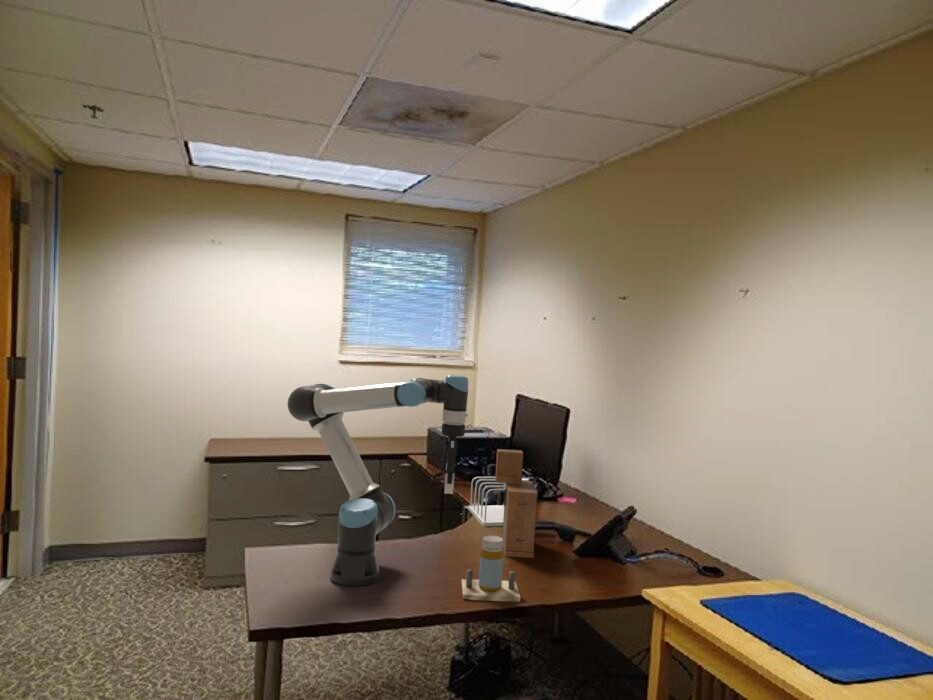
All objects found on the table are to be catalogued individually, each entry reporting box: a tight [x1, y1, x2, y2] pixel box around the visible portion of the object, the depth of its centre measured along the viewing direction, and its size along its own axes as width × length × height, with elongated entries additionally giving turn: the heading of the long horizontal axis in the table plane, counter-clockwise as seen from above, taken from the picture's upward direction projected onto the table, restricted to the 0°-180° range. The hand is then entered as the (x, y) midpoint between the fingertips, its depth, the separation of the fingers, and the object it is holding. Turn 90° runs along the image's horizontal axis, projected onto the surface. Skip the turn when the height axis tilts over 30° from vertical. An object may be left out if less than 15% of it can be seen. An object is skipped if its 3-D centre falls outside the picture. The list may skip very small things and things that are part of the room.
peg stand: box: [460, 568, 522, 603], centre depth 193 cm, size 17×12×6 cm
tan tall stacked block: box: [494, 448, 538, 559], centre depth 236 cm, size 19×14×35 cm
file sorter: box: [467, 476, 506, 528], centre depth 275 cm, size 25×17×16 cm
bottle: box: [478, 535, 504, 591], centre depth 193 cm, size 7×7×15 cm
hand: (448, 488), depth 206 cm, fingers open, 13 cm apart
